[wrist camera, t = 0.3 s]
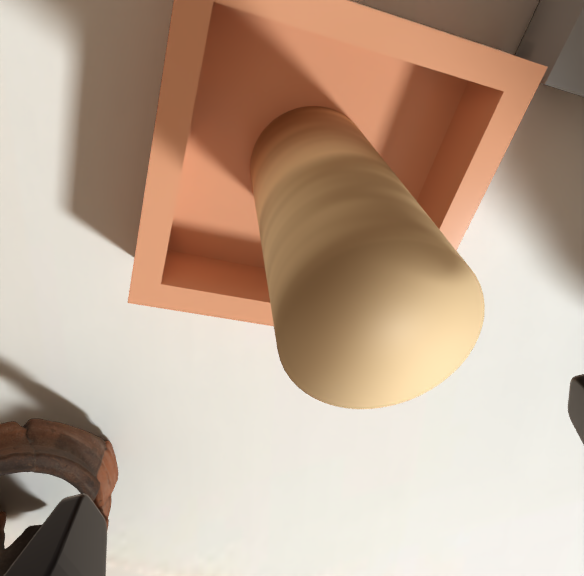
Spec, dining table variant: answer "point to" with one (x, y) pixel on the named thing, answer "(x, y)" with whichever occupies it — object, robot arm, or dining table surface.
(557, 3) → the charcoal tray
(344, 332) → the maple peg
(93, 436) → the dark brown vr controller
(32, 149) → the dining table surface
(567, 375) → the dining table surface
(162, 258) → the terracotta dish
